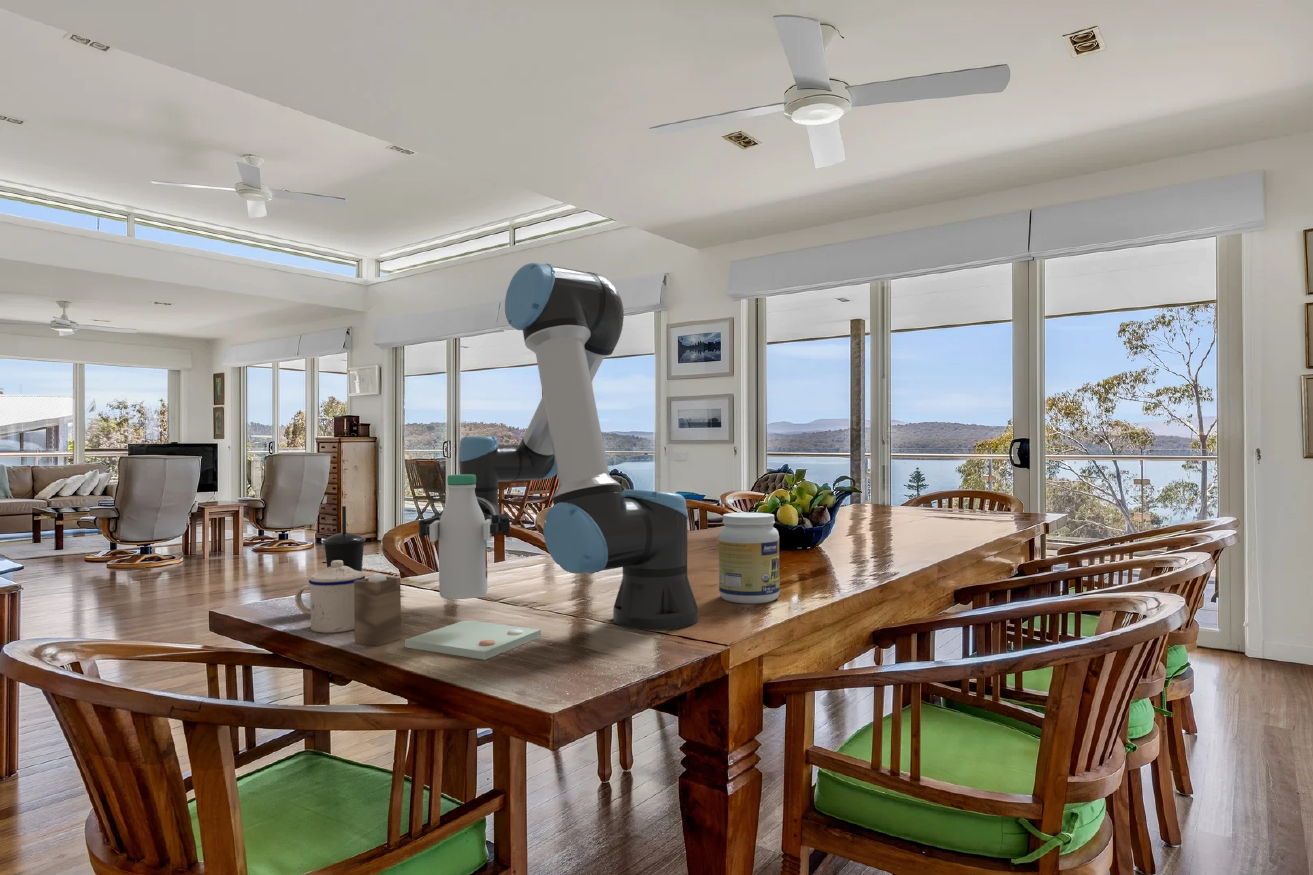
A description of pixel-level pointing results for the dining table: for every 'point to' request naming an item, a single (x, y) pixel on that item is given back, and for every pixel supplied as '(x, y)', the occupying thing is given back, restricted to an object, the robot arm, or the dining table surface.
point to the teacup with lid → (331, 598)
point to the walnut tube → (377, 611)
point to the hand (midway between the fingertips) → (459, 532)
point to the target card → (473, 639)
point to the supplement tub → (749, 558)
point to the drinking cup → (345, 547)
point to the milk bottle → (462, 542)
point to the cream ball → (377, 577)
